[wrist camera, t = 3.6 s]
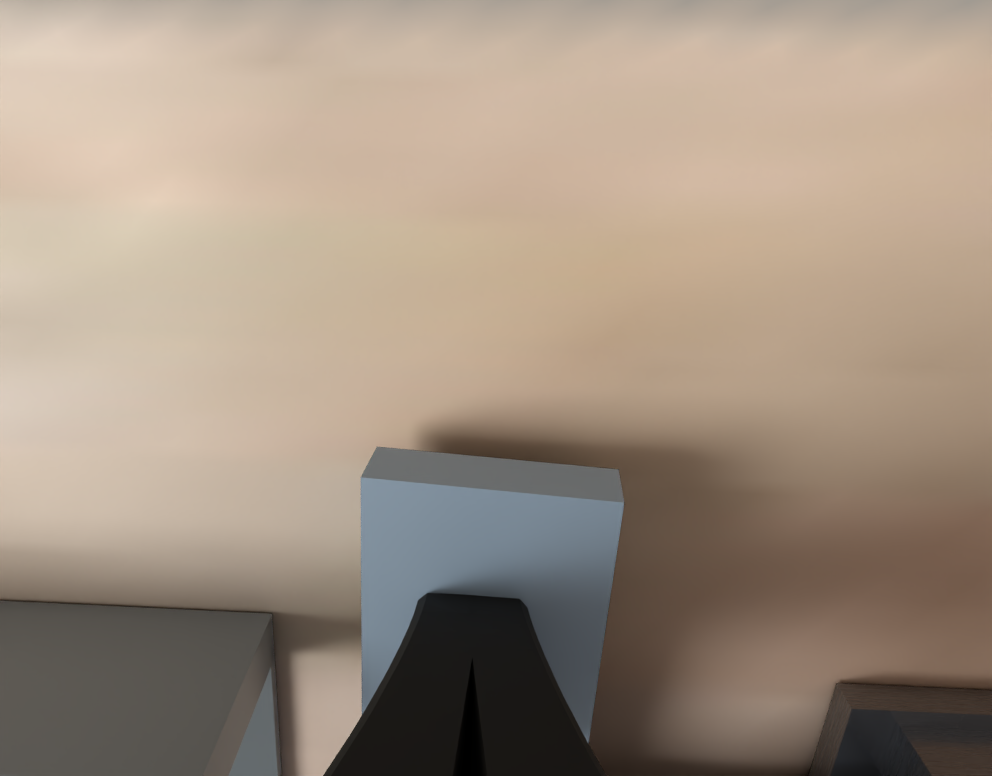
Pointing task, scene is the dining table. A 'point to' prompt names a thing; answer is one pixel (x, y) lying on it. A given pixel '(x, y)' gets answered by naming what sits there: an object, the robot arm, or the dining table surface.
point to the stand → (905, 732)
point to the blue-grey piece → (491, 553)
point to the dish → (136, 692)
